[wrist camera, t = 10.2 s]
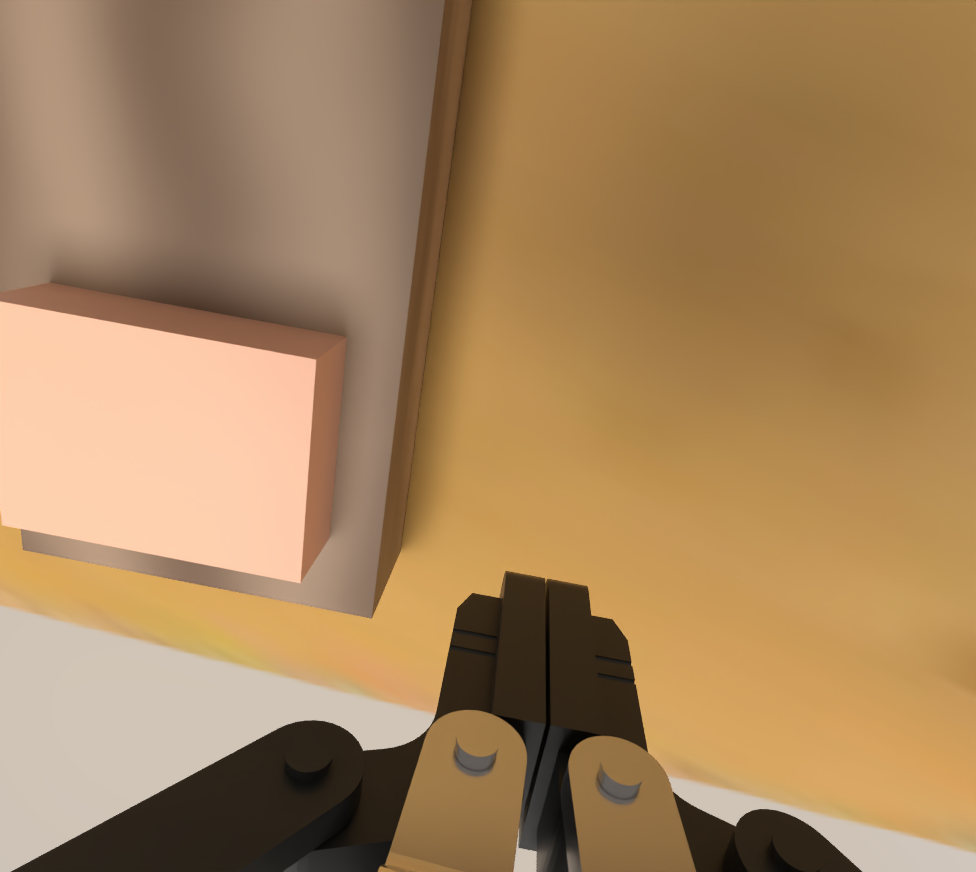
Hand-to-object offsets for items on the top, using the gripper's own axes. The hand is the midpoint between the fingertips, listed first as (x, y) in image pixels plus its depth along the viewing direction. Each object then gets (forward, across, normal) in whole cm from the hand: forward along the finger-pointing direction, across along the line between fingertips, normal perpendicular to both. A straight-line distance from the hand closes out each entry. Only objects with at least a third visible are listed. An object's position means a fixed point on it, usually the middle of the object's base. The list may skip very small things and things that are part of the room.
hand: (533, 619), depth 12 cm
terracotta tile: (+7, +10, 0) cm, 12 cm away
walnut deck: (+11, +10, -4) cm, 15 cm away
